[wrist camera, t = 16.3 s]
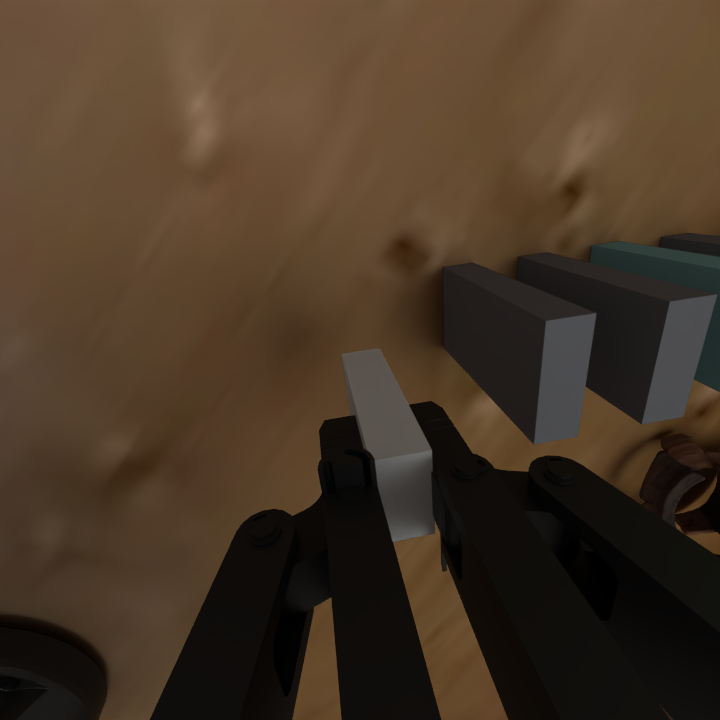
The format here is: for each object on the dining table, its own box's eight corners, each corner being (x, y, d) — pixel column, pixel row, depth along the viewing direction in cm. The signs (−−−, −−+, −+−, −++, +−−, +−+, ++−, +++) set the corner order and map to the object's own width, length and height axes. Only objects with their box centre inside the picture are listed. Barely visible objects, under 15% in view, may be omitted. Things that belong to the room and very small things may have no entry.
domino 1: (444, 348, 24) (533, 444, 15) (442, 266, 22) (546, 320, 13) (472, 344, 24) (577, 436, 15) (473, 262, 22) (596, 313, 13)
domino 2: (513, 337, 24) (641, 424, 15) (518, 256, 22) (669, 301, 13) (540, 333, 25) (683, 416, 16) (548, 252, 23) (717, 294, 13)
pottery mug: (641, 538, 34) (690, 604, 27) (589, 443, 35) (621, 480, 27) (802, 489, 31) (913, 549, 23) (741, 383, 31) (830, 407, 23)
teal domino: (580, 325, 25) (744, 404, 16) (592, 245, 23) (787, 281, 14) (607, 321, 25) (784, 396, 16) (620, 241, 23) (832, 274, 14)
